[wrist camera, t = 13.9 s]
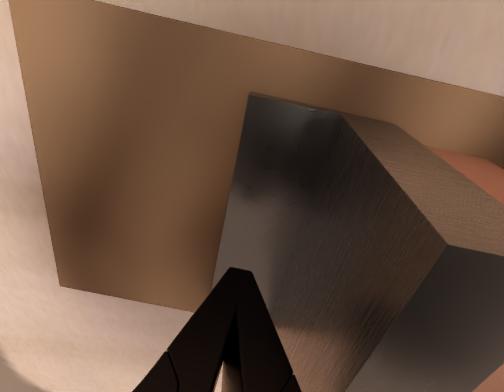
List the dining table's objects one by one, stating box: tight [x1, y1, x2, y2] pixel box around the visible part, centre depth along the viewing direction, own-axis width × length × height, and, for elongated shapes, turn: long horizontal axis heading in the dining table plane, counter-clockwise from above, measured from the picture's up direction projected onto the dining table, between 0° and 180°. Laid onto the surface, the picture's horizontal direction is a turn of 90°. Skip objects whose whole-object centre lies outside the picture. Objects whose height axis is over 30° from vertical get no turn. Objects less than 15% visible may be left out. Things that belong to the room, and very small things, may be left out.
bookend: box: [211, 91, 504, 392], centre depth 9 cm, size 5×10×7 cm, turn 168°
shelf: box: [8, 0, 504, 312], centre depth 9 cm, size 22×13×8 cm, turn 78°
